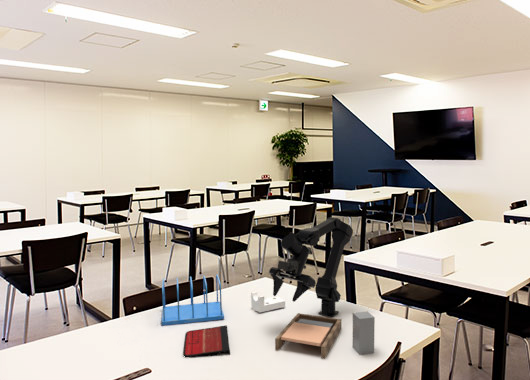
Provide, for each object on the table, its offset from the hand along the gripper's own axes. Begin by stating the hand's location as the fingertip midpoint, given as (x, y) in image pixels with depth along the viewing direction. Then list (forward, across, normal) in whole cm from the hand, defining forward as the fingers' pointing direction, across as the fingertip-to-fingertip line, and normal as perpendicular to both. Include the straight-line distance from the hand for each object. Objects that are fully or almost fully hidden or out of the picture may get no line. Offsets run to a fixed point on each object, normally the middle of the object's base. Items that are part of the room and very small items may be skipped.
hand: (283, 298), depth 159 cm
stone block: (+6, +28, +16) cm, 33 cm away
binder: (+26, -18, -9) cm, 32 cm away
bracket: (+2, -23, +23) cm, 33 cm away
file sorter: (+17, -43, +1) cm, 46 cm away
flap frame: (+9, +9, +12) cm, 18 cm away
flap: (+9, +9, +11) cm, 17 cm away
